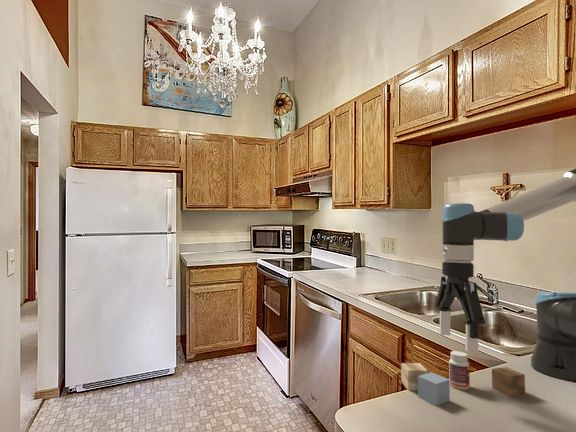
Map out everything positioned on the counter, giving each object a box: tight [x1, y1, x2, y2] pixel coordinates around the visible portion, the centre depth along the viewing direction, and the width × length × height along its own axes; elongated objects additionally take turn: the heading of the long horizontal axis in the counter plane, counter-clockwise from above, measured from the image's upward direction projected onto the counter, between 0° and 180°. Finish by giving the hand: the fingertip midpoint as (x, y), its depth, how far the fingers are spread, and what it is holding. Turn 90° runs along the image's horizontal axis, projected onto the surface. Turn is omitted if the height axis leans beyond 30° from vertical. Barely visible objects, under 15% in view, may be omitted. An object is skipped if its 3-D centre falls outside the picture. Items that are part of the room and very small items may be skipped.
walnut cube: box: [491, 366, 526, 398], centre depth 88 cm, size 5×5×5 cm
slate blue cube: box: [417, 371, 451, 407], centre depth 83 cm, size 5×5×5 cm
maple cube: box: [400, 362, 429, 391], centre depth 90 cm, size 5×5×5 cm
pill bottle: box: [448, 350, 471, 391], centre depth 90 cm, size 5×5×8 cm
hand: (457, 342), depth 91 cm, fingers open, 13 cm apart
